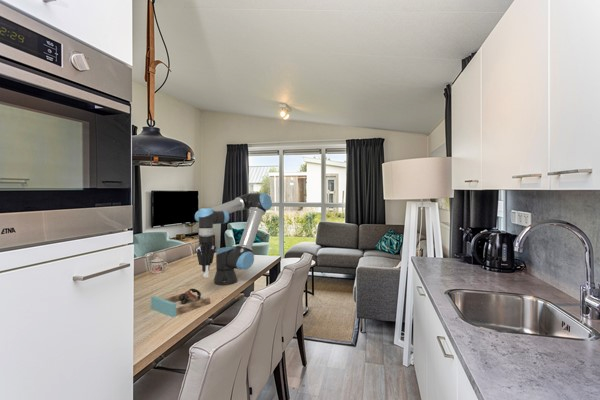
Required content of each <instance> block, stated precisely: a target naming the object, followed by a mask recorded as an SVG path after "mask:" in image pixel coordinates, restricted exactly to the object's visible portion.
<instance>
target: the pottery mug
mask: <svg viewBox="0 0 600 400" xmlns="http://www.w3.org/2000/svg"><path fill="white" fill-rule="evenodd" d="M183 293H184V294H182V293H180V294H181V295H180V296H179V301H178V302H180V303H181V304H185V303H186V301H188V299H189V298H188V295H189V297H190V298H191V299H193V300H194V302H197V301H199V300H201V296H202V293H201V292H200V290H198V289H197V288H189V289H188V290H186V291H185V292H183ZM194 293H196V294H197V295H195V294H194Z"/></svg>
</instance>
